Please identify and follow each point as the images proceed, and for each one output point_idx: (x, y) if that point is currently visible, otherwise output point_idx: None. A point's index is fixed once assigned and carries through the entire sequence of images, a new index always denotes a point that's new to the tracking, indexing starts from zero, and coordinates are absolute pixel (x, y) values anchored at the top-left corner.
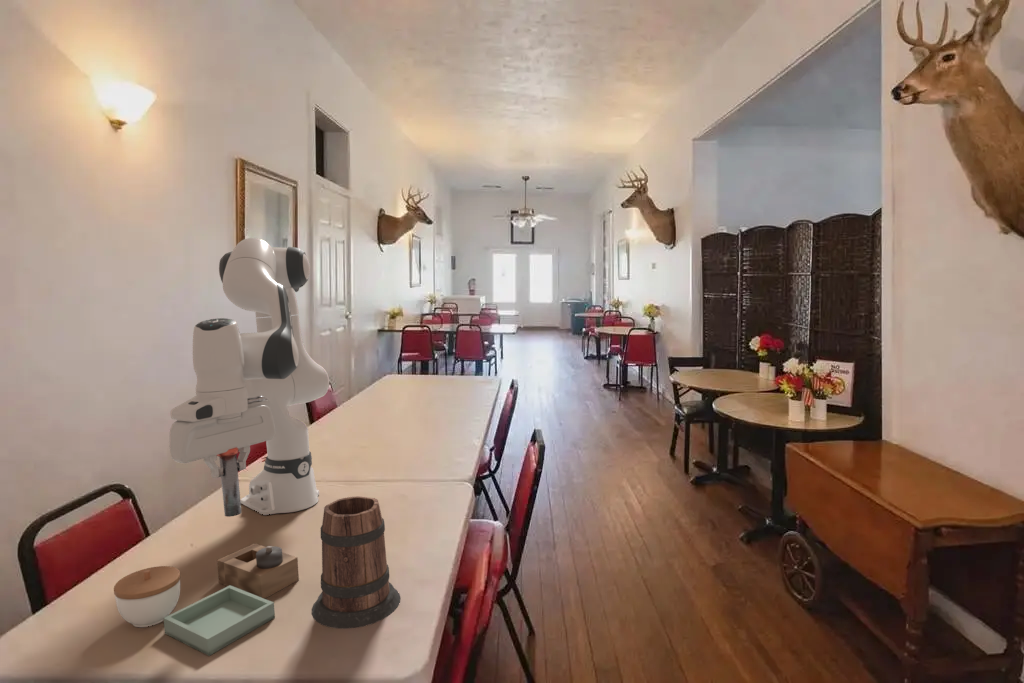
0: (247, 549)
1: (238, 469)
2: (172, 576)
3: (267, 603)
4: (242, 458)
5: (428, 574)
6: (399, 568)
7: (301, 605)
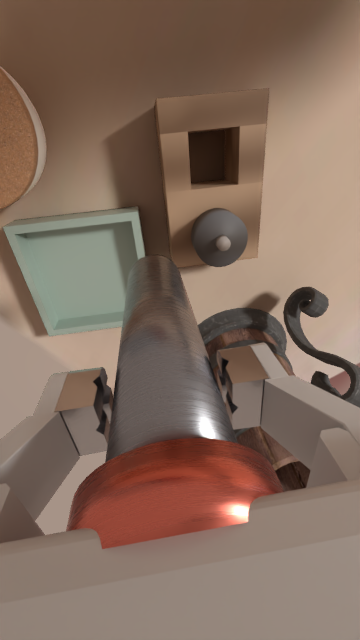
0: (234, 112)
1: (220, 382)
2: (11, 179)
3: None
4: (277, 428)
5: (325, 364)
6: (328, 330)
7: (194, 310)
